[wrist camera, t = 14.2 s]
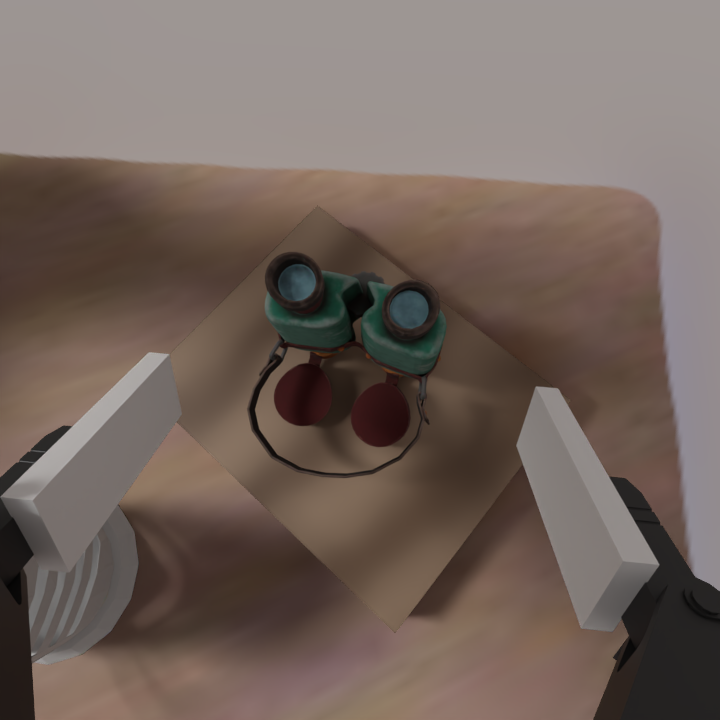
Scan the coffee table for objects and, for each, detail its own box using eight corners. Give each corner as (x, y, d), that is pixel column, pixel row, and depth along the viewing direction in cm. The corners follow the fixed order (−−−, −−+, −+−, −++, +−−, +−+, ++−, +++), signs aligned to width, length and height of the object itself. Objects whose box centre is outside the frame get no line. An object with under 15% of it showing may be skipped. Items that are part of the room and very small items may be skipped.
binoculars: (170, 467, 14) (253, 203, 16) (259, 448, 25) (305, 290, 26) (425, 540, 14) (491, 256, 15) (406, 489, 24) (446, 324, 25)
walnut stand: (158, 392, 28) (138, 385, 25) (321, 226, 30) (317, 205, 28) (392, 616, 24) (394, 633, 22) (552, 406, 27) (571, 400, 24)
